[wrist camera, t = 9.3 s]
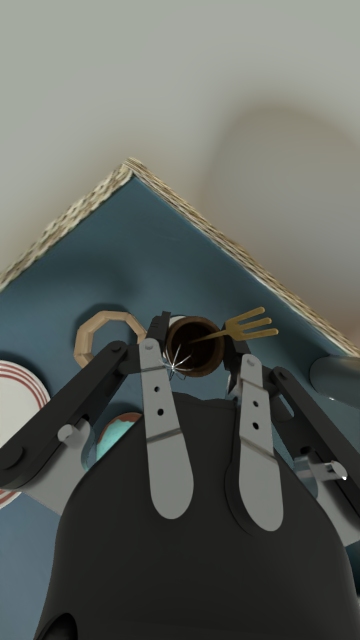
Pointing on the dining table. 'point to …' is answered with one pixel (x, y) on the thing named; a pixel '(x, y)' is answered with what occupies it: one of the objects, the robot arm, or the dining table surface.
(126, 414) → the donut
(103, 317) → the oak ring
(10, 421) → the dinner plate
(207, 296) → the dining table surface
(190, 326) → the utensil holder
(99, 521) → the robot arm
